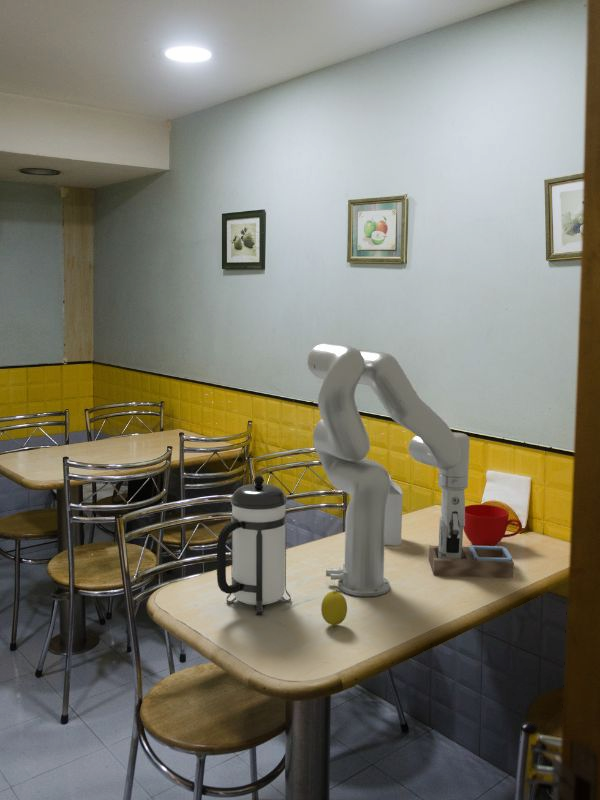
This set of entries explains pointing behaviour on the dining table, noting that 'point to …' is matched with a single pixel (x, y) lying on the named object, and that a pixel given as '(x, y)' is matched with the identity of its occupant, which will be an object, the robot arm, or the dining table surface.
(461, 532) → the energy drink can
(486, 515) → the ceramic cup
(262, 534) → the coffee press
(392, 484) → the milk carton
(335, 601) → the lemon
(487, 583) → the dining table surface
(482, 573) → the block
